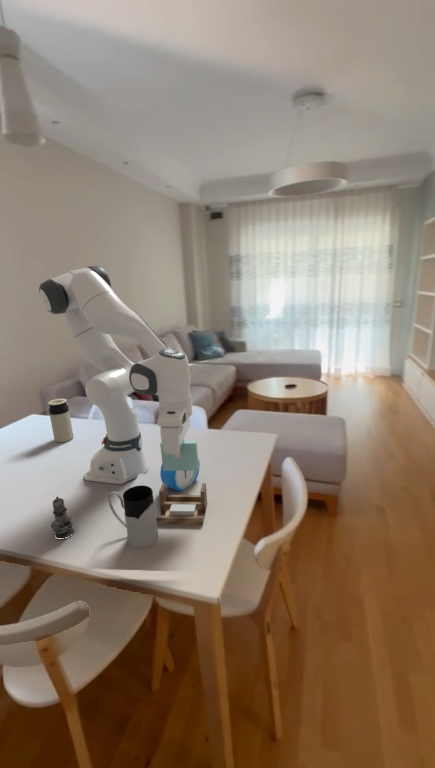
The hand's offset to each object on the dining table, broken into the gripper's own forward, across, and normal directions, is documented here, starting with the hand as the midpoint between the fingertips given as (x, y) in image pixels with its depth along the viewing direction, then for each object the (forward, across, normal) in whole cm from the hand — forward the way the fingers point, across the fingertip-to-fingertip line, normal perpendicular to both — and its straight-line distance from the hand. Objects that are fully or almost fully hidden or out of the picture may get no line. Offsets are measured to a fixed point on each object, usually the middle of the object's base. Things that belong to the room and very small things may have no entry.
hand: (179, 454), depth 107 cm
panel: (+5, 0, 0) cm, 5 cm away
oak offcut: (+18, +5, 0) cm, 18 cm away
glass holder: (+19, +13, -11) cm, 26 cm away
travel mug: (+21, -52, -64) cm, 85 cm away
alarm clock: (+19, -13, -3) cm, 24 cm away
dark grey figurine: (+20, +11, -32) cm, 39 cm away
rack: (+19, +3, 0) cm, 19 cm away
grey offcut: (+16, +5, +1) cm, 17 cm away
